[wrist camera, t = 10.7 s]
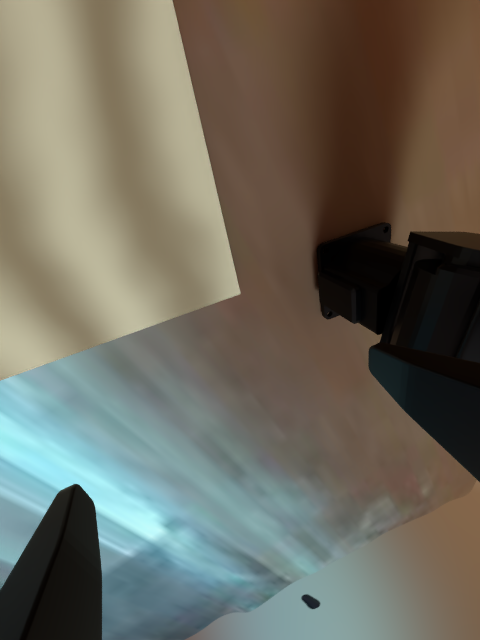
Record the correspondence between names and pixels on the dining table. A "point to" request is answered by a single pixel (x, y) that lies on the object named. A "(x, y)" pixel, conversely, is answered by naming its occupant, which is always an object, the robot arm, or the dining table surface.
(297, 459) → the dining table surface
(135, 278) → the birch board
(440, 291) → the robot arm
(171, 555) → the dining table surface
